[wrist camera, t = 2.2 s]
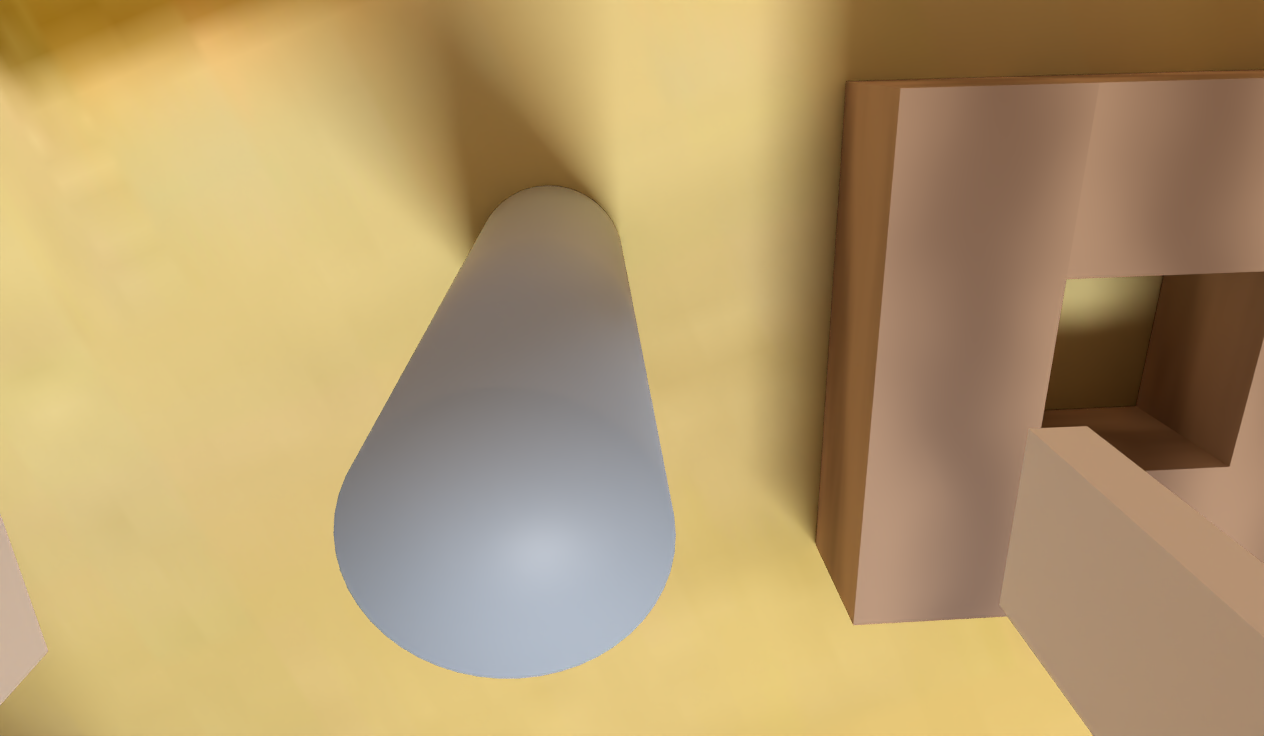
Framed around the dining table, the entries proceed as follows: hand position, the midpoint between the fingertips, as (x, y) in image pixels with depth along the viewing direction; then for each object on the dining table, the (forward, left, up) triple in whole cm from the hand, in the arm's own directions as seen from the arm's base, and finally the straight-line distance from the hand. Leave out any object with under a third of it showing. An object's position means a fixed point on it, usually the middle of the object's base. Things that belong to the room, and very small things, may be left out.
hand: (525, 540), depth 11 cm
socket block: (+17, -3, -16) cm, 23 cm away
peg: (0, 0, -16) cm, 16 cm away
